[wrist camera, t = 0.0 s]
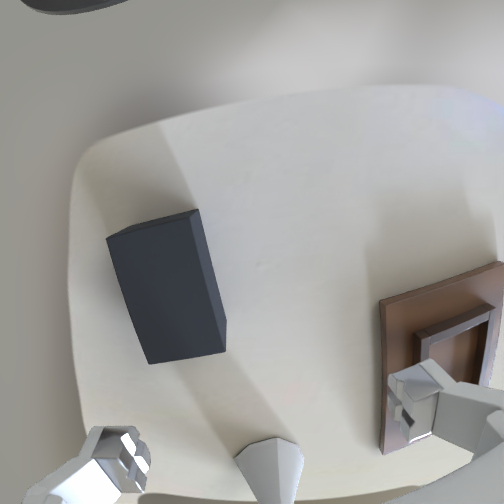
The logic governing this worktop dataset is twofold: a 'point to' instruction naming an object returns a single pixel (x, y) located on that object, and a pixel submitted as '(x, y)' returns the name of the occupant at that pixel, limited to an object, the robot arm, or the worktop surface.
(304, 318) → the worktop surface
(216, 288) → the dark gray block
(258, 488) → the flask
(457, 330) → the back plate
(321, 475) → the worktop surface
